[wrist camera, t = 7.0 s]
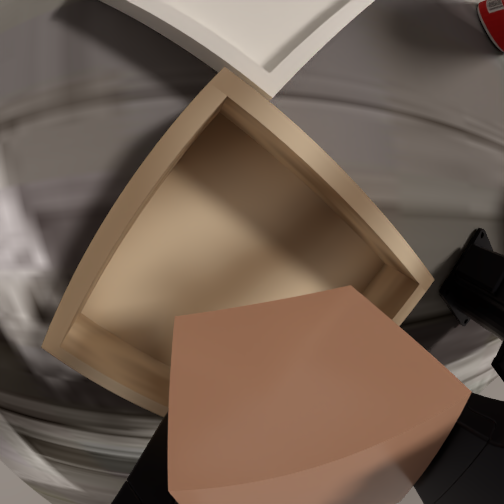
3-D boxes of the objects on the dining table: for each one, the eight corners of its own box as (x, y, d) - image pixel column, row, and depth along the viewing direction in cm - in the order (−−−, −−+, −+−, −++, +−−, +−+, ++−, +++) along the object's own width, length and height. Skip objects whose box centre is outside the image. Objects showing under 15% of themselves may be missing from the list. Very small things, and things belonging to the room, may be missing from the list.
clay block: (350, 285, 8) (471, 392, 3) (339, 401, 10) (400, 501, 5) (174, 316, 7) (167, 490, 3) (208, 430, 9) (227, 553, 4)
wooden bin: (392, 256, 17) (434, 279, 13) (254, 408, 18) (266, 452, 14) (215, 92, 12) (224, 66, 8) (68, 307, 14) (41, 347, 10)
